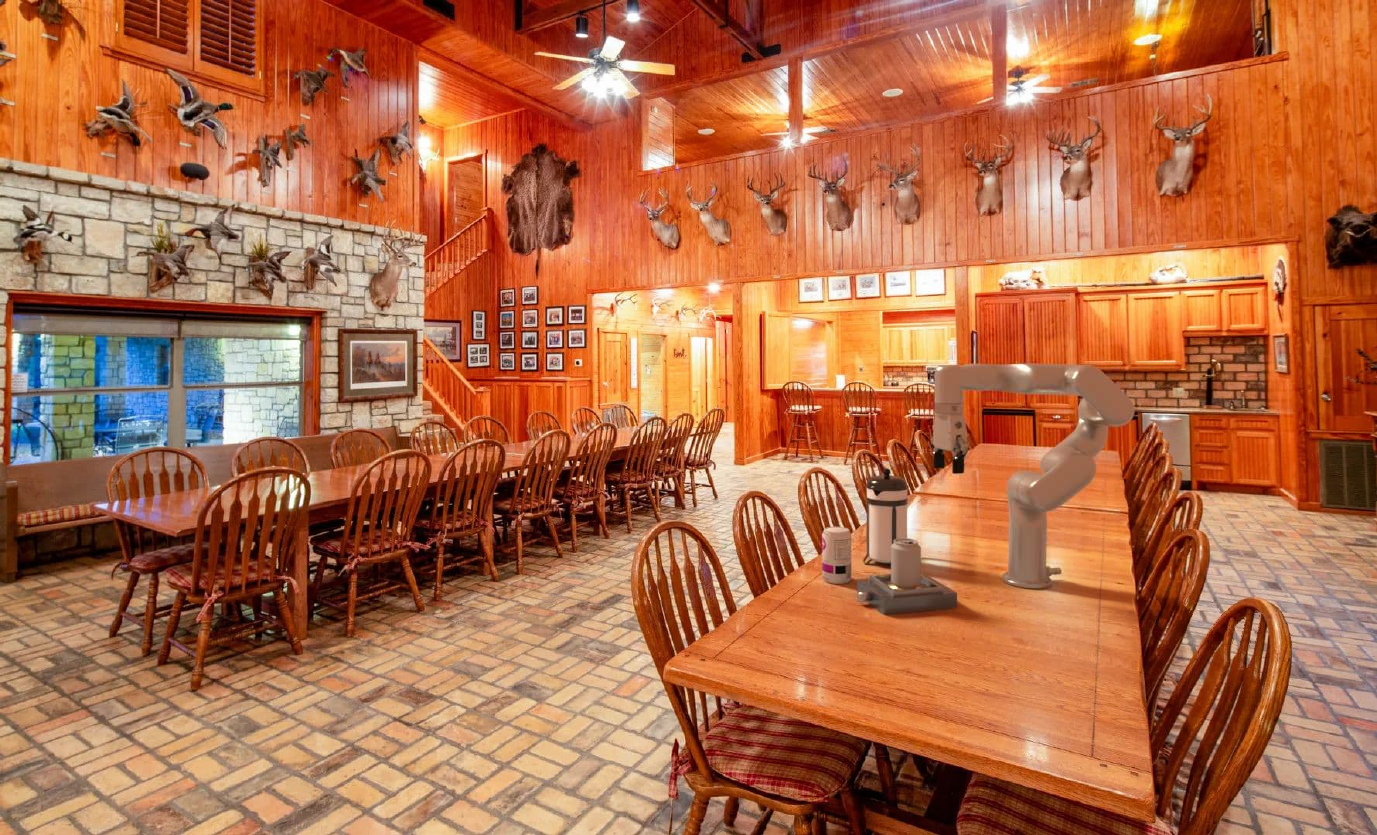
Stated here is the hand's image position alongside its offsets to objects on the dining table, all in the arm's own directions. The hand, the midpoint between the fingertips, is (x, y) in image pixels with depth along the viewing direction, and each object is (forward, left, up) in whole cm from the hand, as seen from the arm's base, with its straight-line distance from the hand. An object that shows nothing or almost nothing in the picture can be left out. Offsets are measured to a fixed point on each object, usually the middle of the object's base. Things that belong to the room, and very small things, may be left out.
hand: (948, 470), depth 188 cm
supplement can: (+29, -10, -32) cm, 45 cm away
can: (+18, +10, -28) cm, 35 cm away
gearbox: (+19, +10, -32) cm, 39 cm away
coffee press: (+7, -23, -32) cm, 41 cm away
